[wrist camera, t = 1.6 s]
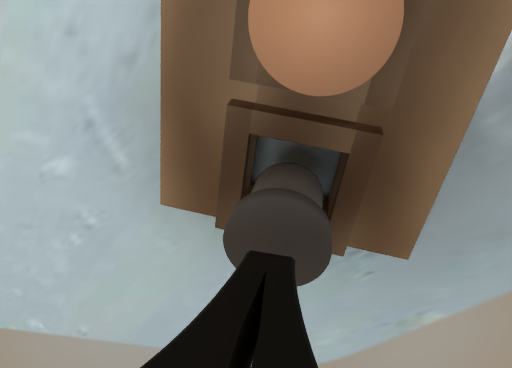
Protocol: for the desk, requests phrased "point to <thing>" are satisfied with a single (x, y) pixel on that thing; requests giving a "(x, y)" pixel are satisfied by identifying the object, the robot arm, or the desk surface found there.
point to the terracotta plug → (324, 41)
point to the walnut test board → (325, 115)
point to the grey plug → (283, 221)
